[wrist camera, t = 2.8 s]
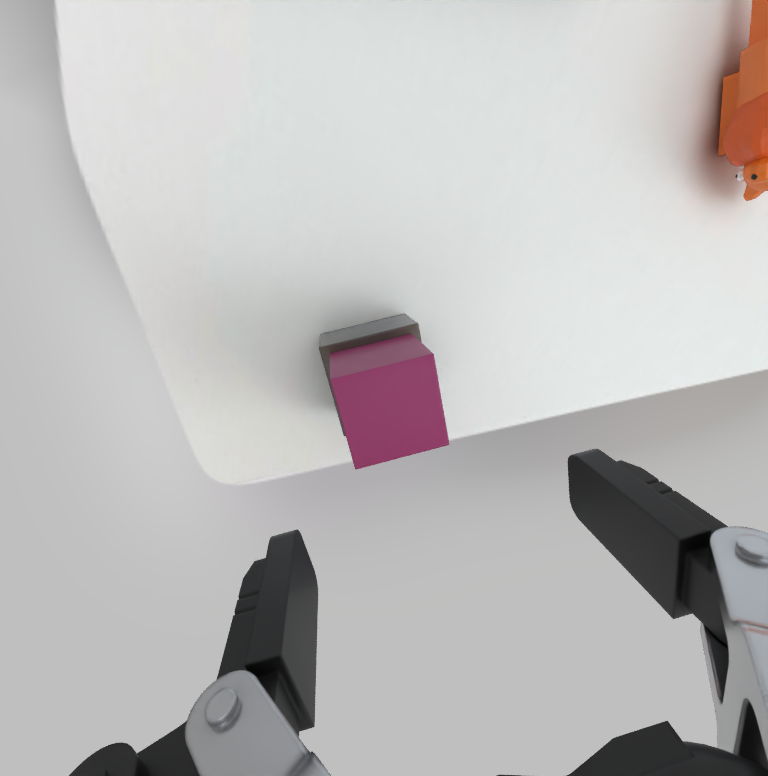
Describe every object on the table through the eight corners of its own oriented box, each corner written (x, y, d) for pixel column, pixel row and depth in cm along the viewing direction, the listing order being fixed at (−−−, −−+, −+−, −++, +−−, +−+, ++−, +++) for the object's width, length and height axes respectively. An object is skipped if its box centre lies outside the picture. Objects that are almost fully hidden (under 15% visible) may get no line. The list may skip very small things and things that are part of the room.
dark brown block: (341, 412, 28) (344, 437, 24) (319, 333, 26) (318, 347, 22) (420, 392, 28) (434, 413, 25) (405, 313, 26) (418, 322, 22)
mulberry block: (349, 428, 24) (355, 470, 19) (329, 353, 22) (329, 379, 18) (426, 408, 24) (449, 445, 20) (411, 333, 23) (433, 353, 18)
